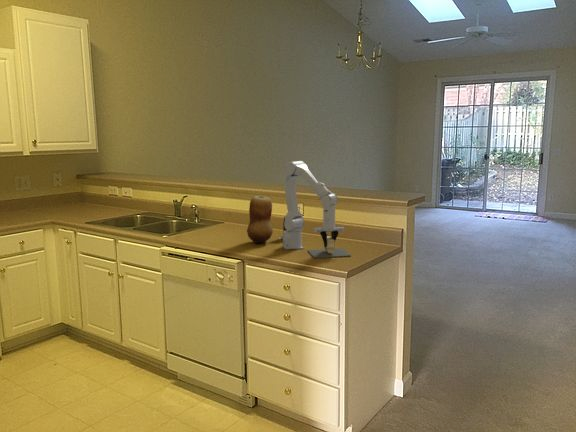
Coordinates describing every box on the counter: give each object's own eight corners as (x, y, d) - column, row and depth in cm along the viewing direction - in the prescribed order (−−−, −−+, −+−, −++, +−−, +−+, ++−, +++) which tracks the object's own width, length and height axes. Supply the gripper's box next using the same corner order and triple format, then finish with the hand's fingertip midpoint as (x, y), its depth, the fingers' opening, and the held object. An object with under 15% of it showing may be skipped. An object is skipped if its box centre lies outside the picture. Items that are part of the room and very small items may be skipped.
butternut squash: (269, 246, 255) (268, 198, 250) (244, 245, 257) (243, 197, 253) (275, 240, 268) (274, 194, 264) (251, 239, 271) (250, 194, 266)
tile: (323, 248, 242) (324, 236, 241) (329, 248, 243) (330, 236, 241) (328, 252, 233) (328, 240, 232) (334, 252, 234) (334, 240, 233)
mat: (314, 258, 231) (314, 257, 230) (307, 251, 244) (307, 250, 244) (351, 256, 234) (351, 255, 233) (342, 249, 247) (342, 248, 247)
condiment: (293, 239, 269) (293, 218, 267) (278, 239, 270) (278, 217, 268) (295, 236, 276) (295, 215, 274) (280, 236, 277) (280, 215, 275)
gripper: (316, 221, 231) (316, 249, 233) (346, 219, 233) (345, 247, 235) (313, 218, 237) (313, 245, 240) (342, 217, 240) (341, 244, 242)
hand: (329, 246), depth 238 cm, fingers closed on tile, 3 cm apart
